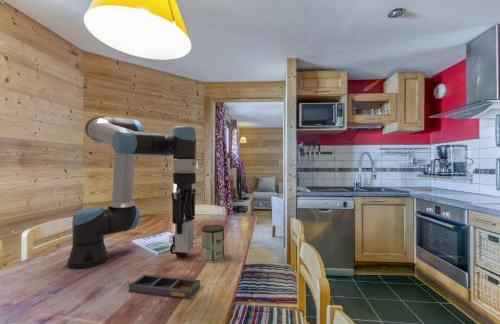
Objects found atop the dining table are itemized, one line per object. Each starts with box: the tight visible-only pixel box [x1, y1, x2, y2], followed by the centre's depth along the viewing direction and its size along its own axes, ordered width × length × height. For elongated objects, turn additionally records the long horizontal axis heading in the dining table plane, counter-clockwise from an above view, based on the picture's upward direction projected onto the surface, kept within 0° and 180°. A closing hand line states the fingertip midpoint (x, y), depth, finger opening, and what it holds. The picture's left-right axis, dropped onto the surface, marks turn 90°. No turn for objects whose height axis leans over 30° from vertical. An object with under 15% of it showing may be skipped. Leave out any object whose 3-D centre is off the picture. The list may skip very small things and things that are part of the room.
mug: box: [169, 234, 189, 259], centre depth 116 cm, size 11×8×10 cm
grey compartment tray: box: [128, 274, 201, 300], centre depth 87 cm, size 22×9×2 cm, turn 78°
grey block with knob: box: [174, 218, 194, 253], centre depth 85 cm, size 4×4×10 cm
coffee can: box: [201, 224, 225, 263], centre depth 116 cm, size 10×10×14 cm
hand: (184, 240), depth 85 cm, fingers closed on grey block with knob, 4 cm apart
